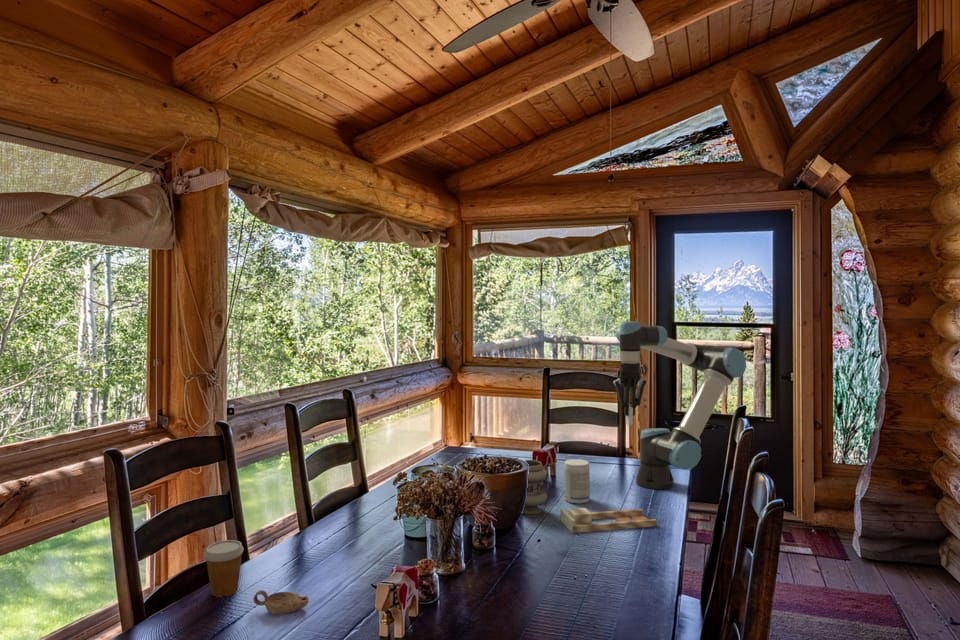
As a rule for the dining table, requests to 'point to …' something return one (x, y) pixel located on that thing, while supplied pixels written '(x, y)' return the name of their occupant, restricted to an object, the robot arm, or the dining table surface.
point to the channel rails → (615, 524)
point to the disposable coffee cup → (224, 566)
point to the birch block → (580, 516)
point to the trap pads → (639, 517)
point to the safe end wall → (567, 520)
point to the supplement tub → (576, 481)
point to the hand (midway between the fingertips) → (629, 424)
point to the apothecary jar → (535, 489)
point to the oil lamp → (281, 602)
